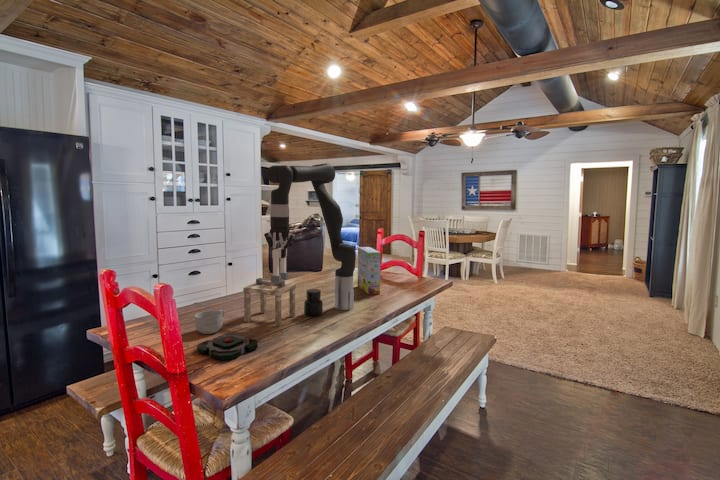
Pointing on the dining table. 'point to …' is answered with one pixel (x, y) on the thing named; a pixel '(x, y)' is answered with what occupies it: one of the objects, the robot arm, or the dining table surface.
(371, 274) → the snack box
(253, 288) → the beige wooden frame
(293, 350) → the dining table surface
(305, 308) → the ink bottle
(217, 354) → the four-lobed dark green device
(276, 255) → the white rectangular prism
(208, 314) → the teacup
